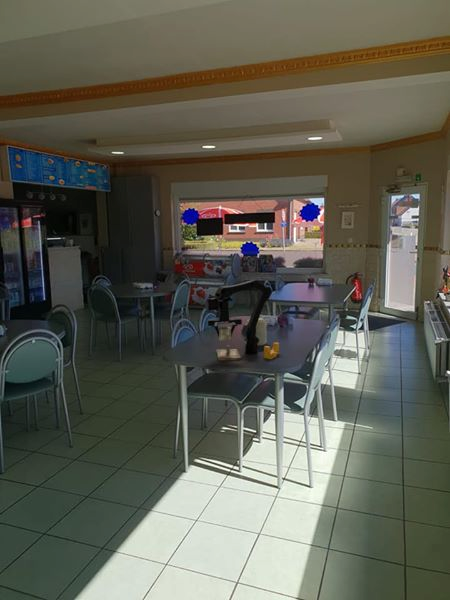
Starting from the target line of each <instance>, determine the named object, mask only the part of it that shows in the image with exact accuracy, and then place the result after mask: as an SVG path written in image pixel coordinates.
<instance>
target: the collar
mask: <svg viewBox="0 0 450 600" xmlns="http://www.w3.org/2000/svg"><path fill="white" fill-rule="evenodd" d="M218 331H219V337H218V340H219V341H231V340H232V336H231V326H218Z"/></svg>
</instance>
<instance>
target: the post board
mask: <svg viewBox="0 0 450 600" xmlns="http://www.w3.org/2000/svg"><path fill="white" fill-rule="evenodd" d="M215 352H216V356H217V360H218V361H241V359H242V357H241V355H240V352H239V351H238V349H237V348H231V346H230V345H226V348H225V349H224V348H222V349H215Z"/></svg>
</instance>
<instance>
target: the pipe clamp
mask: <svg viewBox="0 0 450 600" xmlns="http://www.w3.org/2000/svg"><path fill="white" fill-rule="evenodd" d="M272 343H273V344H272V348H271V346H267V345H264V347H263V358H264V359H267V360H273V359H274V357H275V358H277V357H278V355H279V354H280V342H272ZM276 356H277V357H276Z"/></svg>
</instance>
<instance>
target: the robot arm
mask: <svg viewBox="0 0 450 600" xmlns="http://www.w3.org/2000/svg"><path fill="white" fill-rule="evenodd" d="M251 289H254V290H255V291H256V292H257V293H256V302H255V305H254V308H253V310H252V313H251V315H250V317H249V319H250V320H249V319H248V320H249V323H248V322H247V323H248V324H247V325H246V324H243V322H242V321H243V320H242V319H241V317H234V318H233V319H230V317H231V316H230V302H233V301H234V300H233V298H232V297H231V296H233V295H234V294H236V293H239V292H242V291H247V290H251ZM272 294H273V292H272V288H271V287H269V286H266V285H264V284H262V283H260V282H259V281H258V280H255V279H251V280H248V281H244V282H241V283H238V284H233V285H221V286H219V287H218V288H217V290H216V292H215V294H214V296H213V298H208V297H207V298H205V303H204V309H205V311H206V312H211V311H213V312H214V311H216V312H215V318H208V319H207V322H206V323H207V327H212V328H214V329H215V331H216V334H217V338H219V331H218V327H219V326H218V325H220V324H230V328H231V337H232V335H233V333H234V330H235V328H236V327H238V326H239V325H241V326H242V324H243V326H242V330H241V337H242V338H243V339H244V341H245V343H244V352H245V354H249V355H250V354H251V355H252V354H259V352H258V346H257V343H259V339H258V338H257V337H256V325H257V322H258V320H259V318H261V314H262V312H263V308H264V306H265V303H267V301H269V299H270V298H271V295H272ZM215 319H216V320H215Z"/></svg>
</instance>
